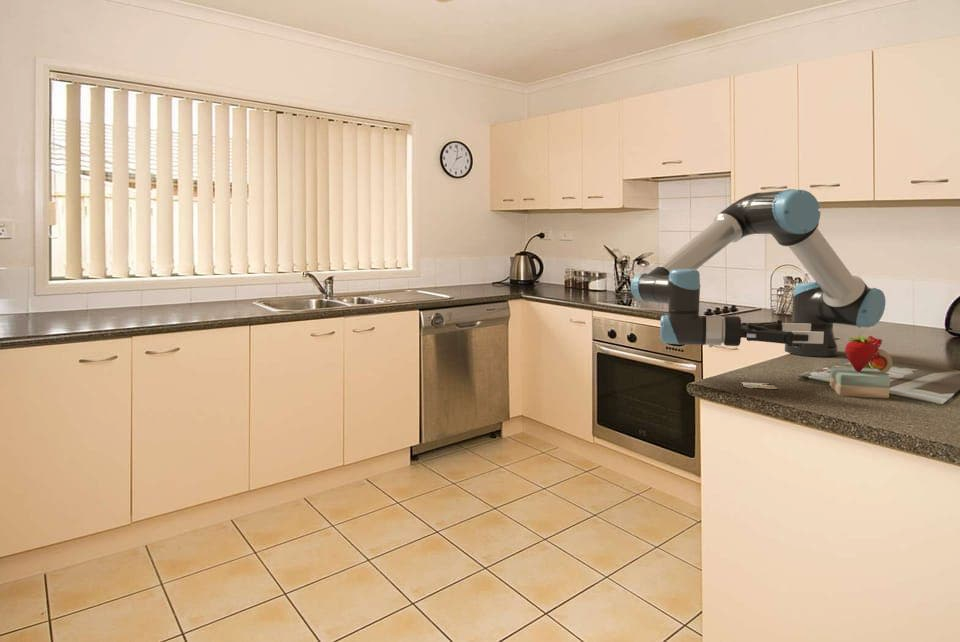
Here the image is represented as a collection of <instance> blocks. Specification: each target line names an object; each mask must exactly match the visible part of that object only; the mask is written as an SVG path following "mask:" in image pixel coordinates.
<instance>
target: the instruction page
mask: <svg viewBox="0 0 960 642" xmlns="http://www.w3.org/2000/svg"><path fill="white" fill-rule="evenodd" d="M741 383H742V384H743V385H748V386H752V387H758V385H760V386H761V387H763V386H764V385H762V384H764V383H760V382H746V381H745V382H740V384H741ZM742 384H741V385H742ZM765 386H767V385H765Z"/></svg>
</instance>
